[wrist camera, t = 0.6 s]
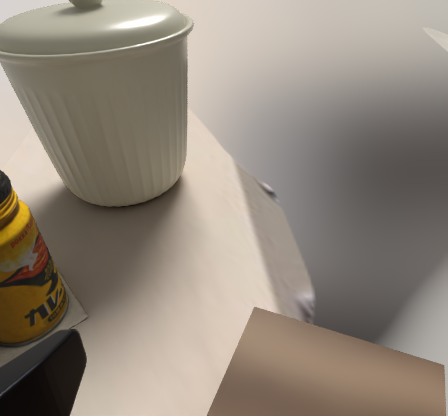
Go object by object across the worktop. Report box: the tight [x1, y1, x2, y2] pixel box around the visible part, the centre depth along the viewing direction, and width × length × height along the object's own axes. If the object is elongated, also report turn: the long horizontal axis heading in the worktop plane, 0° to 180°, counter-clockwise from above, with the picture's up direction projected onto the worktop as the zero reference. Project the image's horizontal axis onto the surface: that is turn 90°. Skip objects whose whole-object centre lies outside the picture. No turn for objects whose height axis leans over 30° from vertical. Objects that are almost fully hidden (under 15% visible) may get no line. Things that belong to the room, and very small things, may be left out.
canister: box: [0, 0, 194, 207], centre depth 38 cm, size 18×18×21 cm
